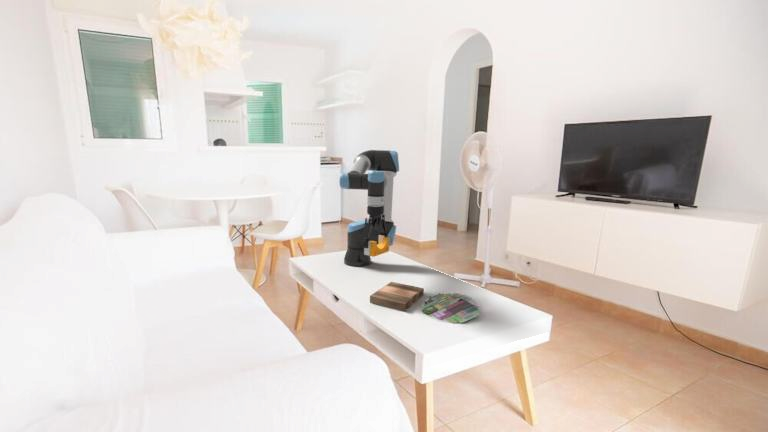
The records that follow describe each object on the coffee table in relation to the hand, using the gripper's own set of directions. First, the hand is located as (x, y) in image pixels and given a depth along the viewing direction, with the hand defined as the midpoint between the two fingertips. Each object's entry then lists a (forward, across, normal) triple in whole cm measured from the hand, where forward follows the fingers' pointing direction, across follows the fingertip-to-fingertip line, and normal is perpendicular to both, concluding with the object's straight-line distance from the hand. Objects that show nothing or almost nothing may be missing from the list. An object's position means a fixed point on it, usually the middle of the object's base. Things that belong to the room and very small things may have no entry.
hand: (374, 251), depth 171 cm
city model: (+17, -7, -39) cm, 43 cm away
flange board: (+17, -7, -16) cm, 24 cm away
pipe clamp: (+1, 0, -2) cm, 2 cm away
